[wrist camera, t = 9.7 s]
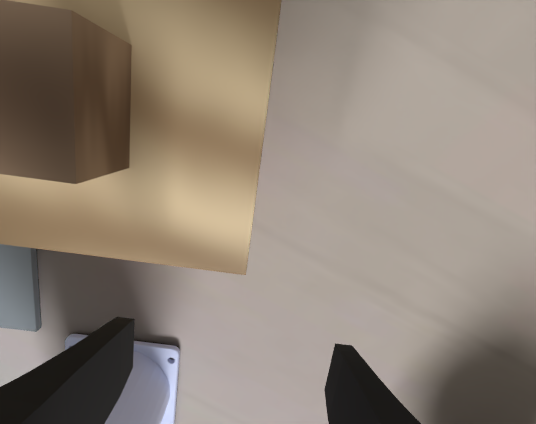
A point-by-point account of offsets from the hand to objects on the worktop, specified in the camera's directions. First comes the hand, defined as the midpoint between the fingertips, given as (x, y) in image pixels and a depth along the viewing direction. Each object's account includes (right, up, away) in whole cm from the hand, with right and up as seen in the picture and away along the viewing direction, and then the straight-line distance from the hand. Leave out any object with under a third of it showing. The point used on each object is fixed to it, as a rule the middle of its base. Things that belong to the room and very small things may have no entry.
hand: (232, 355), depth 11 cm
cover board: (-6, +10, +3) cm, 12 cm away
